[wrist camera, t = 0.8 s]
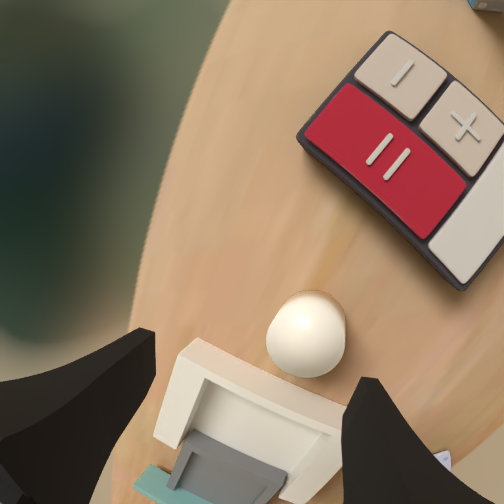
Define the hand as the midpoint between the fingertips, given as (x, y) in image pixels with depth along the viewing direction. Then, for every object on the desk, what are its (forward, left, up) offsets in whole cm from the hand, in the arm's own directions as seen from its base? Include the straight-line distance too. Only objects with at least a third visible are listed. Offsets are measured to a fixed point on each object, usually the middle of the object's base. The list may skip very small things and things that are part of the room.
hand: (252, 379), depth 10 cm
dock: (-12, +9, -14) cm, 20 cm away
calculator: (+5, -12, -15) cm, 19 cm away
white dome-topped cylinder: (-3, +1, -14) cm, 15 cm away
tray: (-18, +15, -13) cm, 27 cm away
